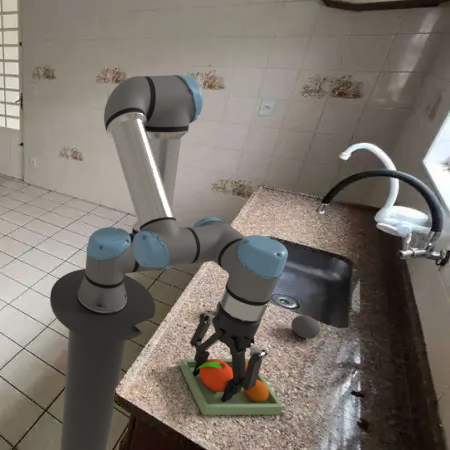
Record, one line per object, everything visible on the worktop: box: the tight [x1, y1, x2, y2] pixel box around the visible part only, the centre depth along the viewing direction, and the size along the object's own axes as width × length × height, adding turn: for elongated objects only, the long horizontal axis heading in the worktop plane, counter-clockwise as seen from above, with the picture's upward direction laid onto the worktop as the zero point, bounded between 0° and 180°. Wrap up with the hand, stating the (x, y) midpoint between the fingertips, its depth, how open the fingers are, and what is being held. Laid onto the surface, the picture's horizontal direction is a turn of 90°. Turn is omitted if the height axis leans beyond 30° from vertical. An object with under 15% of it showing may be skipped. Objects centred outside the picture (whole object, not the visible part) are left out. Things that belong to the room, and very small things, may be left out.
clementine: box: [198, 358, 233, 392], centre depth 79 cm, size 8×7×7 cm
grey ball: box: [290, 315, 321, 340], centre depth 93 cm, size 6×6×6 cm
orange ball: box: [244, 380, 269, 402], centre depth 77 cm, size 5×5×5 cm
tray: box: [179, 358, 284, 416], centre depth 80 cm, size 17×13×3 cm
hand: (211, 385), depth 80 cm, fingers closed on clementine, 7 cm apart
